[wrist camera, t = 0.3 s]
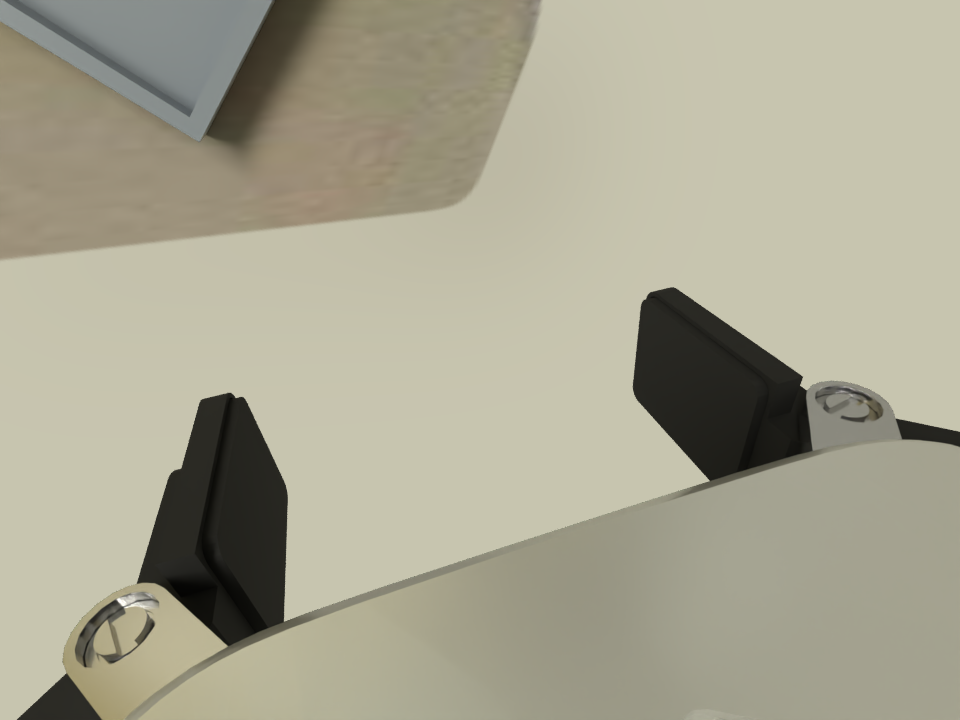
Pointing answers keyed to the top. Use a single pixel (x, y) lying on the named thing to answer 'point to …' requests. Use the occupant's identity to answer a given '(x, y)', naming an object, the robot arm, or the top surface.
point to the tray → (150, 48)
